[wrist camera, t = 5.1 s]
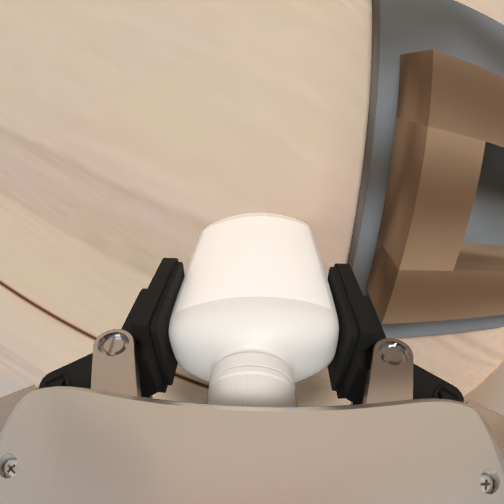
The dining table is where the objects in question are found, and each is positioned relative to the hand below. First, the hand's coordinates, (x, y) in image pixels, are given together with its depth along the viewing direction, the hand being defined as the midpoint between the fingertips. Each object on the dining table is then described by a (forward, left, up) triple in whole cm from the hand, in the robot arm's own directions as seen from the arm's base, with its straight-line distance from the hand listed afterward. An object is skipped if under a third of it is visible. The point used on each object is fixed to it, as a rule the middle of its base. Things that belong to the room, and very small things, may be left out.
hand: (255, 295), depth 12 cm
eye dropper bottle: (0, 0, -5) cm, 5 cm away
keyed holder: (+4, -13, -5) cm, 14 cm away
